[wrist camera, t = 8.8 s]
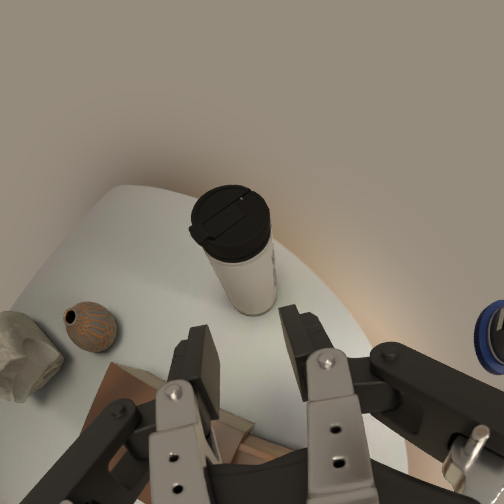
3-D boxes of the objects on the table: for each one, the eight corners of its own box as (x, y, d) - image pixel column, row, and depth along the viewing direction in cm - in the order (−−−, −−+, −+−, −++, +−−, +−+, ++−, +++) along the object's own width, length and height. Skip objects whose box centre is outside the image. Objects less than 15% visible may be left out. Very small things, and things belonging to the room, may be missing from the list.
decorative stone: (30, 307, 43) (-28, 273, 30) (85, 363, 38) (15, 340, 25) (4, 358, 39) (-56, 336, 26) (55, 421, 34) (-16, 414, 21)
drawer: (361, 462, 28) (380, 477, 21) (322, 535, 24) (330, 562, 17) (214, 411, 33) (196, 415, 26) (179, 484, 29) (155, 500, 22)
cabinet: (254, 423, 33) (245, 432, 24) (215, 502, 28) (195, 529, 20) (147, 371, 37) (110, 361, 29) (114, 445, 32) (72, 452, 24)
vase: (100, 303, 42) (68, 282, 35) (131, 325, 40) (99, 307, 33) (79, 339, 40) (43, 324, 32) (109, 364, 38) (73, 354, 30)
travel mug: (219, 294, 41) (171, 211, 24) (256, 264, 43) (234, 165, 25) (249, 327, 39) (217, 264, 21) (286, 295, 40) (287, 208, 23)
